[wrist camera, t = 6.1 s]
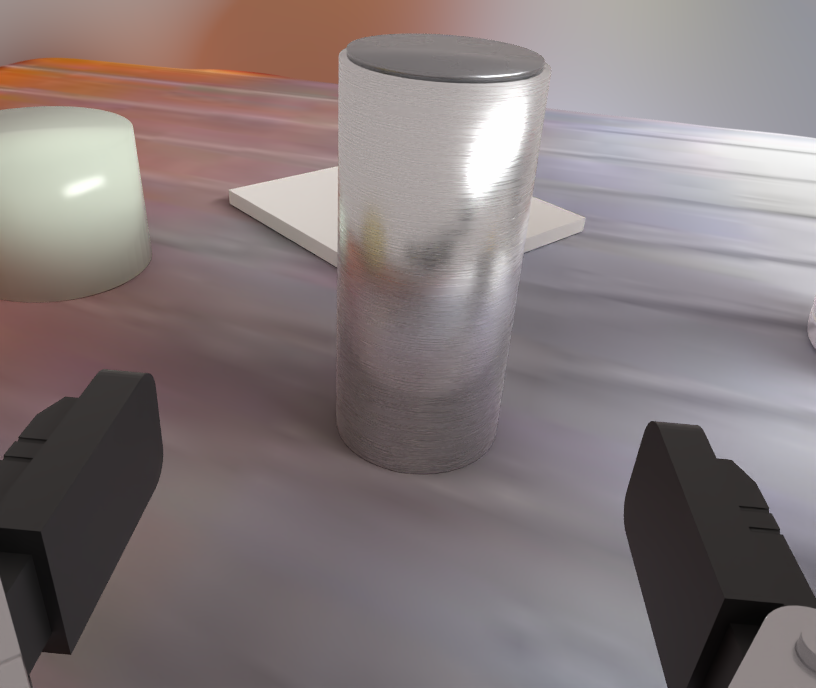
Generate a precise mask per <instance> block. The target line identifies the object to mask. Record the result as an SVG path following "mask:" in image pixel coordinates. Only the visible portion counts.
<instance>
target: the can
mask: <svg viewBox="0 0 816 688" xmlns="http://www.w3.org/2000/svg"><path fill="white" fill-rule="evenodd" d="M550 74H551V67H550V66H549V65H548V64H547V63H545V61H544V58H543V57H542V56H541V55H539V54H538V53H536V52H534V51H531V50H529V49H526V48H523V47H520V46H516V45H512V44H508V43H504V42H499V41H493V40H487V39H481V38H473V37H464V36H453V35H440V34H389V35H378V36H371V37H365V38H361V39H357V40H355V41H352V42H351V43H349V44H348V45H347V48H345V49H344V50H342V51H341V52H340V54H339V114H338V243H337V373H336V424H337V429H338V432H339V434H340V436H341V438H342V440H343V441H344V442H345V444H346V445H347V446H348V447H349V448H350V449H351V450H352V451H353V452H354V453H356V454H357V455H359V456H360V457H361V458H363V459H365V460H367V461H369V462H370V463H373V464H375V465H378V466H380V467H383V468H386V469H390V470H394V471H398V472H404V473H412V474H432V473H441V472H447V471H451V470H455V469H459V468H461V467H464V466H467V465H468V464H470V463H472V462H474V461H476V460H477V459H479V458H480V457H482V456H483V455H484V454H485V453H486V452H487V451H488V450H489V448H490V447H491V446H492V444H493V442H494V440H495V436H496V432H497V425H498V419H499V412H500V406H501V399H502V392H503V386H504V379H505V373H506V366H507V359H508V353H509V346H510V340H511V333H512V326H513V320H514V313H515V307H516V300H517V293H518V287H519V280H520V274H521V267H522V260H523V254H524V247H525V241H526V234H527V227H528V221H529V214H530V208H531V201H532V194H533V188H534V181H535V175H536V168H537V161H538V155H539V148H540V142H541V135H542V128H543V122H544V115H545V109H546V102H547V95H548V89H549V82H550V76H551V75H550Z"/></svg>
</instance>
